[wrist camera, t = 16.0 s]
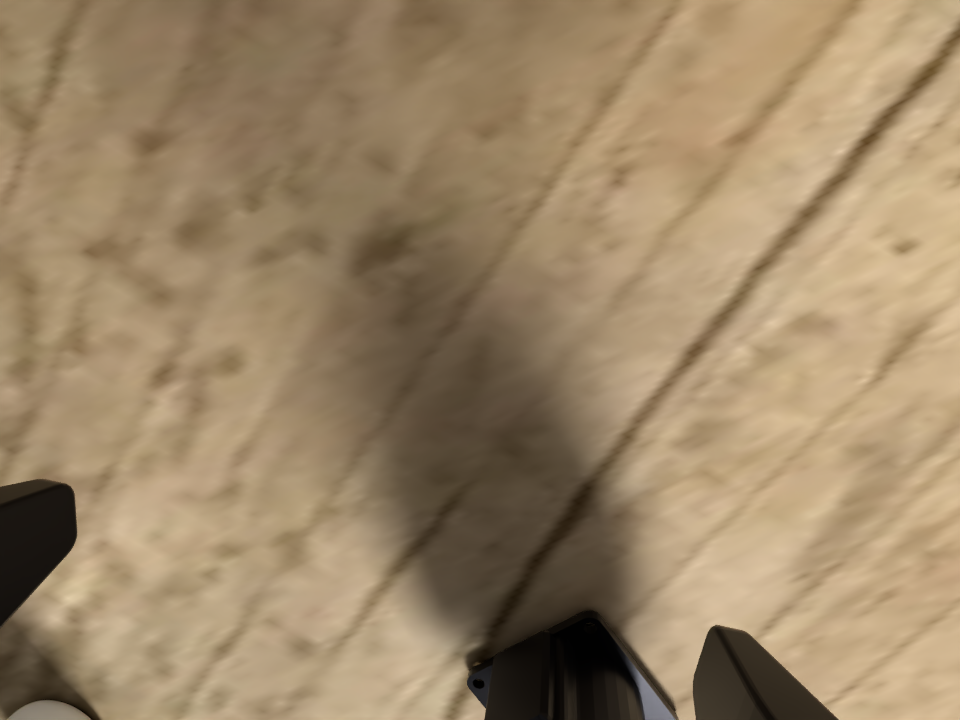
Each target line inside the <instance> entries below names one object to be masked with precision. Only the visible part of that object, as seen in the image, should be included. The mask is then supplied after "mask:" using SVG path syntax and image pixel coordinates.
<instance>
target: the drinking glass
mask: <svg viewBox="0 0 960 720" xmlns="http://www.w3.org/2000/svg"><path fill="white" fill-rule="evenodd" d="M6 720H91V719H90V718H89V717H88V716H87V715H86V714H85V713H83V712H82V711H80V710H79V709H77V708H75V707H73V706H71V705H69V704H66V703H63V702H59V701H54V700H41V701H35V702H32V703H29V704H27V705H25V706H23V707H21V708H20V709H18V710H17V711H15V712H14V713H13V714H12V715H11V716H10V717H9V718H7V719H6Z"/></svg>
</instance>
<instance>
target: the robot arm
mask: <svg viewBox="0 0 960 720" xmlns="http://www.w3.org/2000/svg"><path fill="white" fill-rule="evenodd" d="M76 538H77V521H76V507H75V494H74V491H73V489H72V488H71V486H69V485H67V484H65V483H61V482H56V481H51V480H47V479H36V480H31V481H26V482H21V483H16V484H12V485H7V486H2V487H0V628H1V627H2V626H3V625H4V624H5V623H6V622H7V620H8V619H9V618H10V617H11V616H12V615H13V614H14V613H15V612H16V611H17V609H18V608H19V607H20V606H21V605H22V604H23V603H24V602H25V601H26V600H27V598H28V597H29V596H30V595H31V594H32V593H33V592H34V591H35V590H36V589H37V587H38V586H39V585H40V584H41V583H42V582H43V581H44V580H45V579H46V578H47V576H48V575H49V574H50V573H51V572H52V571H53V570H54V569H55V568H56V567H57V565H58V564H59V563H60V562H61V561H62V560H63V559H64V558H65V557H66V556H67V554H68V553H69V552H70V551H71V549H72V548H73V546H74V544H75V541H76ZM587 623H593V624H595V625H594V626H591V627H590V626H586V624H587ZM476 679H481V680H483V681H478V680H476ZM467 685H468V687H469V689H470V690H471V691H472V692H473V694H474V695H475V696H476V697H477V698H478V700H479V701H480V702H481V703H482V704H483V706H484V707H485V708H486V712H485V719H484V720H679V719H678V717H677V715H676V713H675V712H674V711H673V710H672V708H671V707H670V706H669V704H668V703H667V702H666V700H665V699H664V698H663V697H662V695H661V694H660V693H659V691H658V690H657V689H656V687H655V686H654V685H653V683H652V682H651V681H650V680H649V678H648V677H647V676H646V674H645V673H644V672H643V670H642V669H641V668H640V666H639V665H638V664H637V663H636V661H635V660H634V659H633V657H632V656H631V655H630V653H629V652H628V651H627V650H626V648H625V647H624V646H623V644H622V643H621V642H620V640H619V639H618V638H617V636H616V635H615V634H614V633H613V631H612V630H611V629H610V627H609V626H608V625H607V623H606V622H605V621H604V620H603V618H602V617H601V616H600V615H599V614H598V613H597V612H594V611H584V612H582V613H580V614H578V615H576V616H574V617H572V618H570V619H568V620H566V621H564V622H562V623H560V624H558V625H556V626H554V627H552V628H550V629H548V630H546V631H541V632H539V633H537V634H535V635H533V636H531V637H529V638H528V639H526V640H524V641H522V642H520V643H518V644H516V645H514V646H512V647H510V648H508V649H506V650H504V651H502V652H500V653H498V654H496V655H495V656H494V657H493V658H491V659H489V660H487V661H485V662H483V663H481V664H479V665H477V666H475V667H473V668H472V669H471V670H470V671H469V673H468V679H467ZM693 698H694V706H695V715H696V720H839V719H837V718H836V717H835V716H834V715H833V714H832V713H831V712H830V711H829V710H828V709H827V708H826V707H825V706H824V705H823V704H822V703H821V702H820V701H819V700H818V699H817V698H815V697H814V696H813V695H812V694H811V693H810V692H809V691H808V690H807V689H806V688H805V687H804V686H803V685H802V684H801V683H800V682H799V681H798V680H797V679H796V678H795V677H794V676H792V675H791V674H790V673H789V672H788V671H787V670H786V669H785V668H784V667H783V666H782V665H781V664H780V663H779V662H778V661H777V660H776V659H775V658H774V657H773V656H772V655H770V654H769V653H768V652H767V651H766V650H765V649H764V648H763V647H762V646H761V645H760V644H759V643H758V642H757V641H756V640H755V639H754V638H753V637H752V636H751V635H749V634H748V633H747V632H745V631H743V630H738V629H734V628H729V627H724V626H720V625H715V626H713V627H711V628H710V630H709V631H708V634H707V636H706V639H705V643H704V646H703V649H702V652H701V655H700V658H699V661H698V665H697V668H696V671H695V674H694V680H693Z"/></svg>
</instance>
